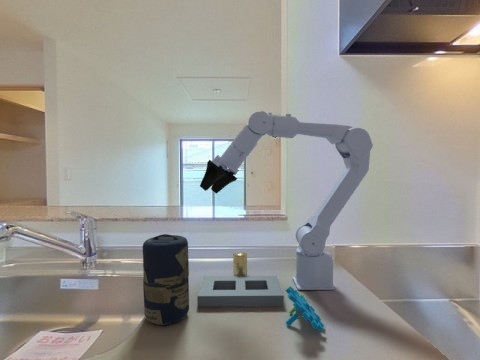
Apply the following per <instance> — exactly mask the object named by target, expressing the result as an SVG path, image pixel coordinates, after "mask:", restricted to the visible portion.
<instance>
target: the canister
mask: <svg viewBox="0 0 480 360" xmlns="http://www.w3.org/2000/svg"><path fill="white" fill-rule="evenodd" d="M189 263H190V262H189V242H188V239H187V238H186V237H185V236H182V235H175V234H169V233H165V234H159V235H157V236H154V237H150V238H148V239H146V240H145V241H143V243H142V268H143V269H142V270H143V271H142V273H143V277H142V278H143V280H142V283H143V285H142V286H143V305H144V307H143V309H144V312H143V313H144V317H145V319H146V321H148V322H149V323H151V324H155V325H158V326H159V325H160V326H162V325H163V326H164V325H169V324H174V323H176V322H178V321H181V320H183V319H184V318H185V317H186V316H187V315H188V313H189V310H190V289H189V288H190V285H189V281H190V280H189V277H190V276H189V275H190V274H189V273H190V269H189V266H190V265H189Z"/></svg>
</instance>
